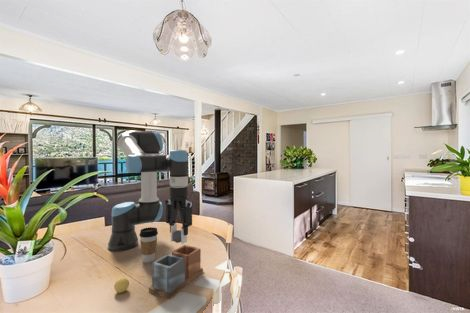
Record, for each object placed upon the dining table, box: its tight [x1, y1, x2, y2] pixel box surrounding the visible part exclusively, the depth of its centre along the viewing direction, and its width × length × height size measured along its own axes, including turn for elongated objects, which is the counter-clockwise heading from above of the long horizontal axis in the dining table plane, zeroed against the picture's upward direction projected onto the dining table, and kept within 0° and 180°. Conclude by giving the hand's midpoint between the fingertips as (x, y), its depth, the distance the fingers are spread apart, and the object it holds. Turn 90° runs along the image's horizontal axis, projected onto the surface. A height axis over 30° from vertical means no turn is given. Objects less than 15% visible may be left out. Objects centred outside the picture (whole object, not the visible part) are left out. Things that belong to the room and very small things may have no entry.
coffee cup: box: [139, 226, 159, 263], centre depth 110 cm, size 8×8×15 cm
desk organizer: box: [148, 244, 204, 300], centre depth 92 cm, size 10×21×10 cm, turn 154°
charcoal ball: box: [172, 229, 181, 243], centre depth 96 cm, size 5×5×5 cm
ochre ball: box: [113, 276, 130, 294], centre depth 85 cm, size 5×5×5 cm
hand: (178, 241), depth 96 cm, fingers closed on charcoal ball, 5 cm apart
